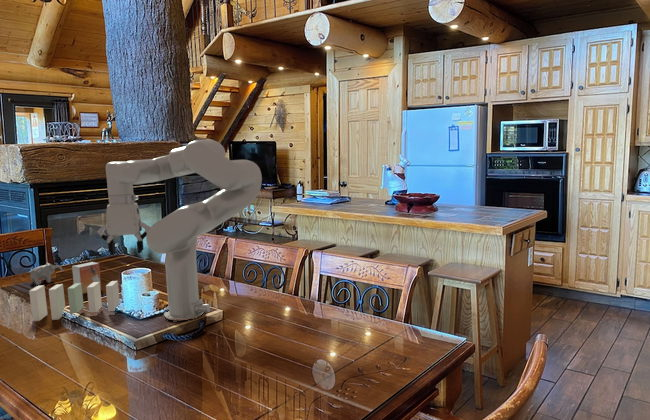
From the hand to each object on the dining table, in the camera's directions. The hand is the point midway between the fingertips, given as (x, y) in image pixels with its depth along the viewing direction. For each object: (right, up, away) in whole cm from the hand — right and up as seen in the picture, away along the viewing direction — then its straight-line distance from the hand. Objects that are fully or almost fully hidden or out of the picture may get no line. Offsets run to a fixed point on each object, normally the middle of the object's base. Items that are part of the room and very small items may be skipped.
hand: (126, 253), depth 160 cm
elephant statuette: (-51, -16, +45) cm, 70 cm away
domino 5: (-5, -20, +2) cm, 21 cm away
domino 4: (-11, -20, +1) cm, 23 cm away
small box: (-26, -17, +29) cm, 43 cm away
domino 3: (-16, -20, +1) cm, 26 cm away
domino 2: (-22, -21, 0) cm, 30 cm away
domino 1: (-28, -21, -1) cm, 35 cm away
